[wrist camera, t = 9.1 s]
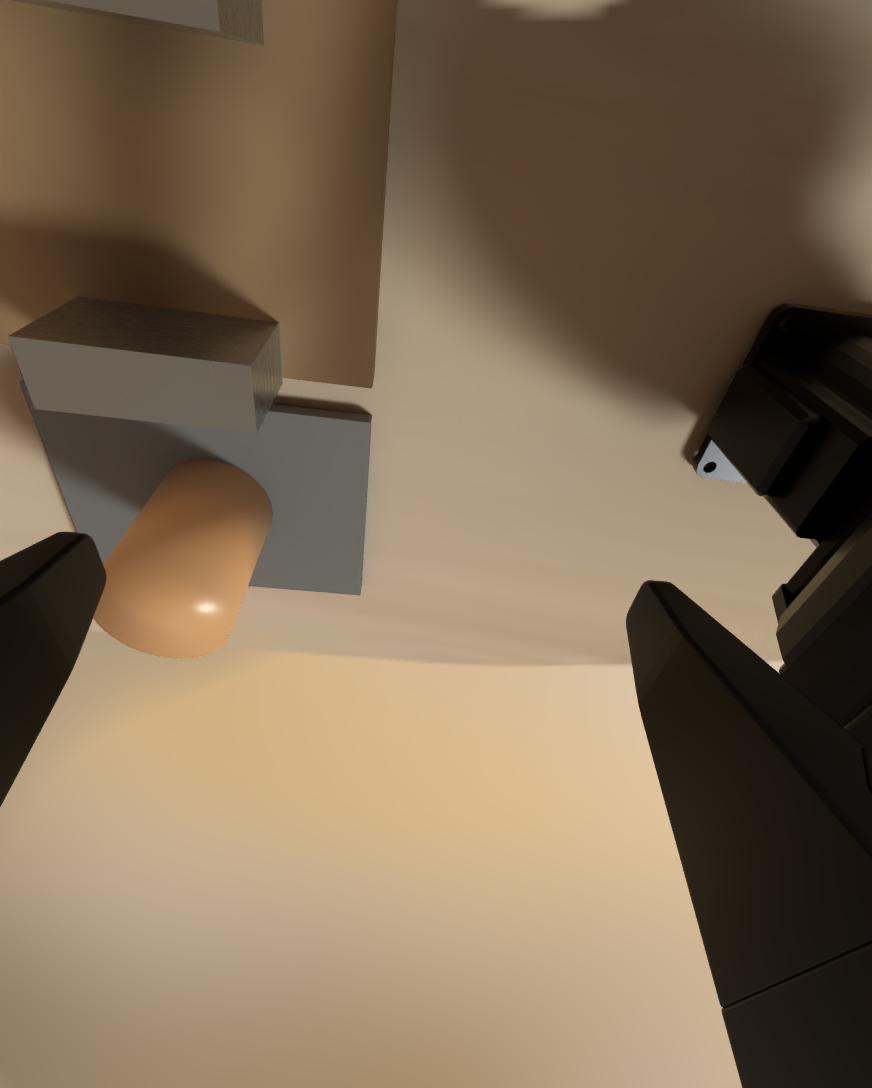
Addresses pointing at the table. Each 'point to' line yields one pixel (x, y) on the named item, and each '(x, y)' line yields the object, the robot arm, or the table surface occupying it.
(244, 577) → the orange-tan rounded capsule
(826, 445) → the robot arm
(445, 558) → the table surface
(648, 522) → the table surface
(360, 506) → the pad
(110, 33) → the board
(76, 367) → the clamp jaws
